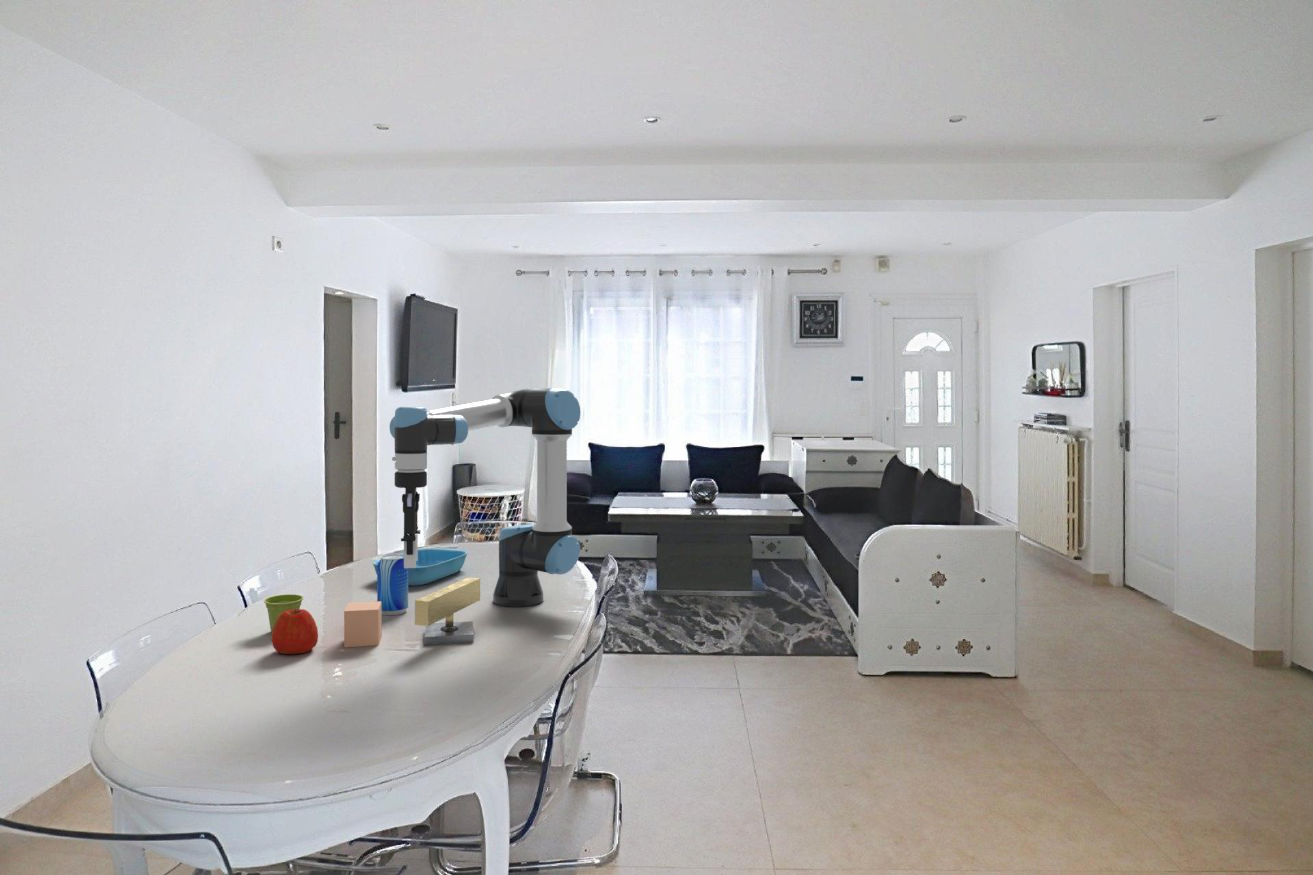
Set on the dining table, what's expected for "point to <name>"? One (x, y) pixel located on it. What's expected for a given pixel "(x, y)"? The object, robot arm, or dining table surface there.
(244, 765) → the dining table surface
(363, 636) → the peach tan cube
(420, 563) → the casserole dish
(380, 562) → the beer can
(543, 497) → the robot arm
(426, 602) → the yellow t-shaped bar
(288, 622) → the apple
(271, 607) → the plant pot
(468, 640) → the grey square base plate
